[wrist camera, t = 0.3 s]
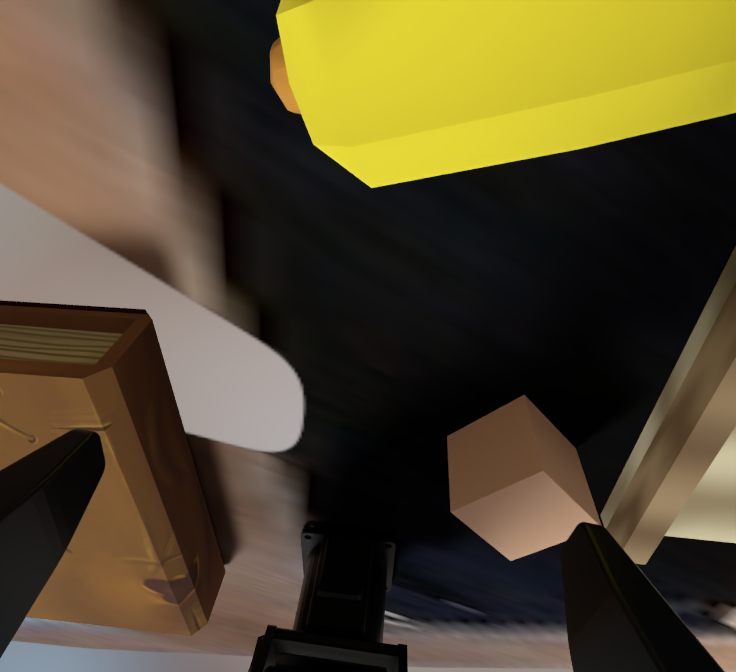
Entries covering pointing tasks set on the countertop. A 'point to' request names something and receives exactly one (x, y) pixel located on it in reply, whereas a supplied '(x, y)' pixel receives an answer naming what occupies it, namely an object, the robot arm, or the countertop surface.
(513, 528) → the cube
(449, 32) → the faceted yellow capsule
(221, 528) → the countertop surface
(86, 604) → the diary
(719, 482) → the arena
